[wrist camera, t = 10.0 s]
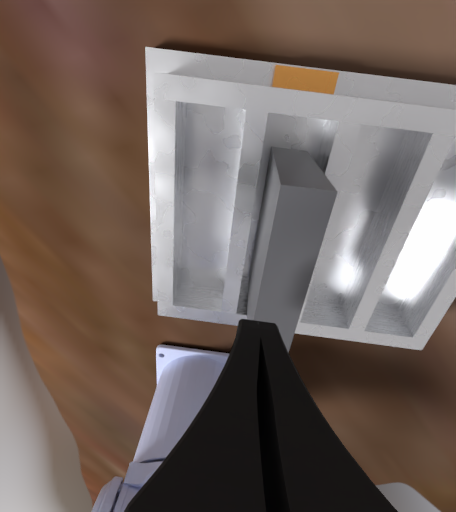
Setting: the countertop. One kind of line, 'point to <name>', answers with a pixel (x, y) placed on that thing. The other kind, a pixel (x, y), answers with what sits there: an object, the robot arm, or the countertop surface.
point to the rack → (336, 170)
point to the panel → (288, 238)
